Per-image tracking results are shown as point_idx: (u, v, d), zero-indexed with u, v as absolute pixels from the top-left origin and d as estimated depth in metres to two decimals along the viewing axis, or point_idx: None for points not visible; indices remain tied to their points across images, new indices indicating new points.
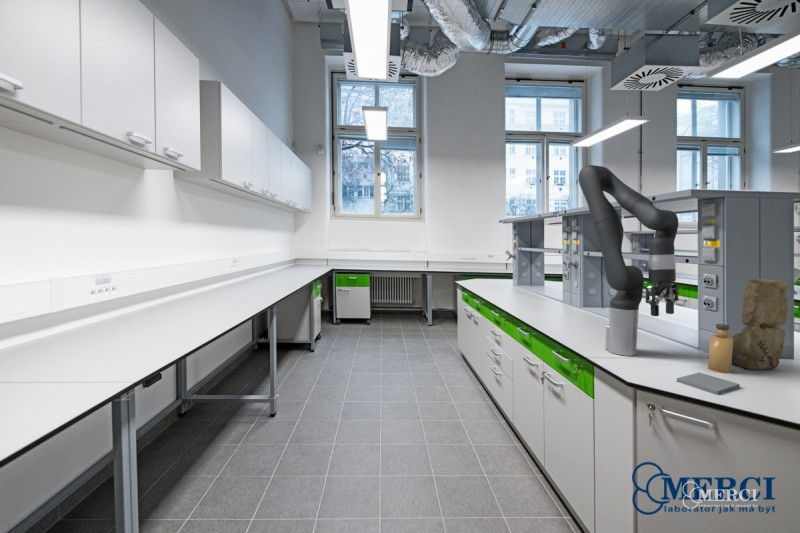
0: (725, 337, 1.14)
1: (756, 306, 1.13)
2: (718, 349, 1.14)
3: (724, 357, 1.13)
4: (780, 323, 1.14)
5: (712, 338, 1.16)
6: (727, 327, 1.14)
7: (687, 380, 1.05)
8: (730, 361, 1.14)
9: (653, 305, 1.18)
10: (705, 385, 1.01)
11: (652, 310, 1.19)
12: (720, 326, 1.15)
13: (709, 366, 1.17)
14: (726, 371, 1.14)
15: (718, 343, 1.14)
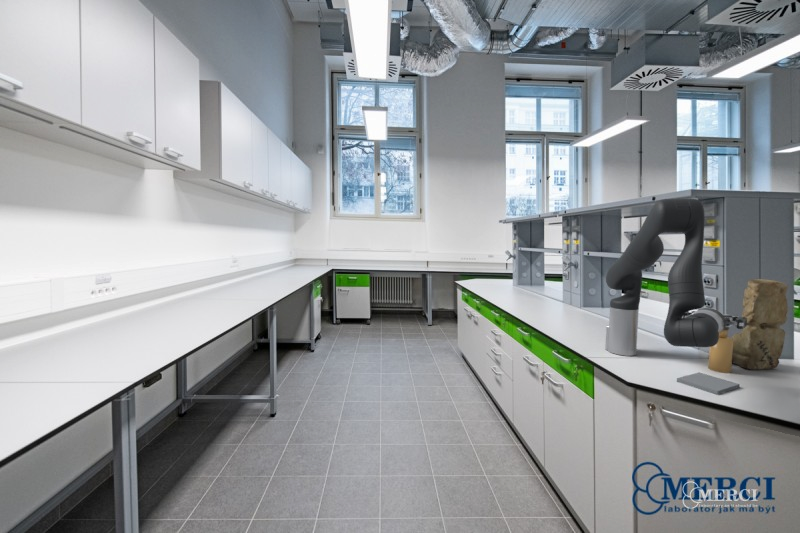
0: (725, 337, 1.14)
1: (756, 306, 1.13)
2: (718, 349, 1.14)
3: (724, 357, 1.13)
4: (780, 323, 1.14)
5: None
6: (727, 327, 1.14)
7: (687, 380, 1.05)
8: (730, 361, 1.14)
9: None
10: (705, 385, 1.01)
11: None
12: None
13: (709, 366, 1.17)
14: (726, 371, 1.14)
15: (718, 343, 1.14)
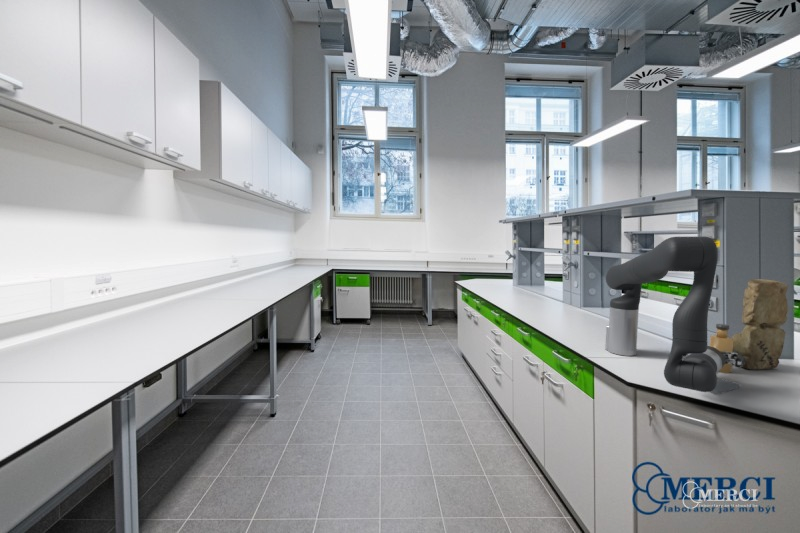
0: (725, 337, 1.14)
1: (756, 306, 1.13)
2: (718, 349, 1.14)
3: None
4: (780, 323, 1.14)
5: (712, 338, 1.16)
6: (727, 327, 1.14)
7: None
8: None
9: None
10: None
11: None
12: (720, 326, 1.15)
13: None
14: (726, 371, 1.14)
15: (718, 343, 1.14)
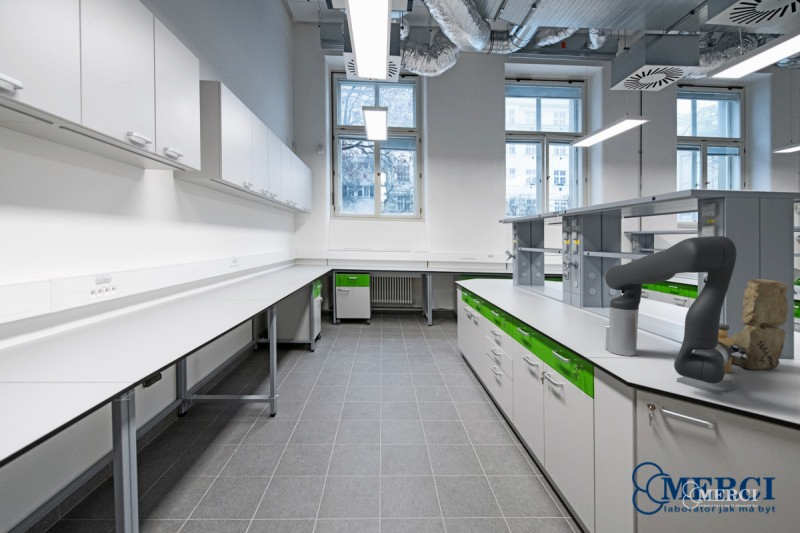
0: (725, 337, 1.14)
1: (756, 306, 1.13)
2: None
3: None
4: (780, 323, 1.14)
5: None
6: (727, 327, 1.14)
7: (687, 380, 1.05)
8: (730, 361, 1.14)
9: None
10: (705, 385, 1.01)
11: None
12: (720, 326, 1.15)
13: None
14: (726, 371, 1.14)
15: None
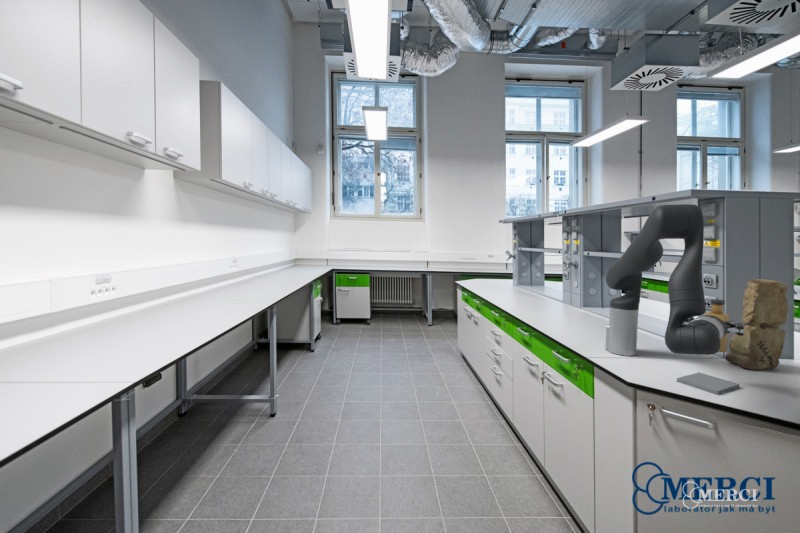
0: (720, 313, 1.05)
1: (756, 306, 1.13)
2: None
3: None
4: (780, 323, 1.14)
5: (706, 314, 1.06)
6: (722, 302, 1.04)
7: (687, 380, 1.05)
8: (726, 339, 1.04)
9: None
10: (705, 385, 1.01)
11: None
12: (715, 301, 1.05)
13: None
14: (722, 350, 1.04)
15: None
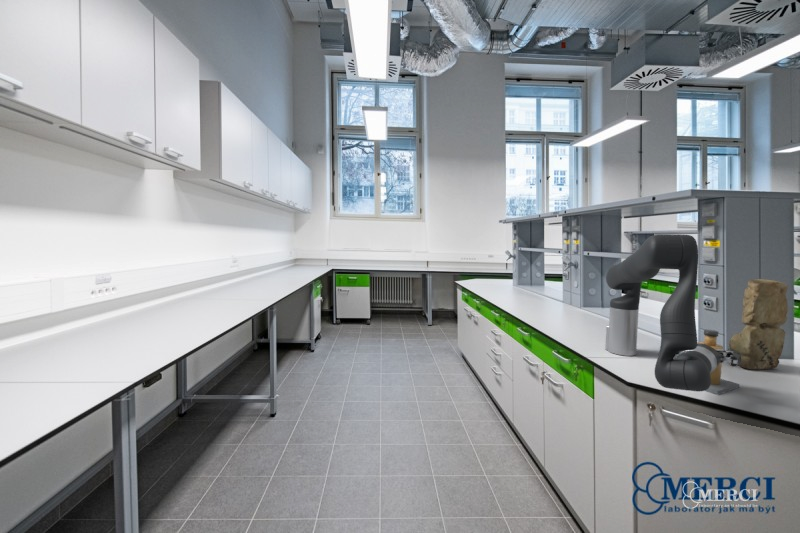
0: (714, 345, 1.02)
1: (756, 306, 1.13)
2: None
3: None
4: (780, 323, 1.14)
5: None
6: (716, 334, 1.01)
7: None
8: (719, 372, 1.01)
9: None
10: None
11: None
12: (708, 333, 1.02)
13: None
14: (715, 383, 1.02)
15: None
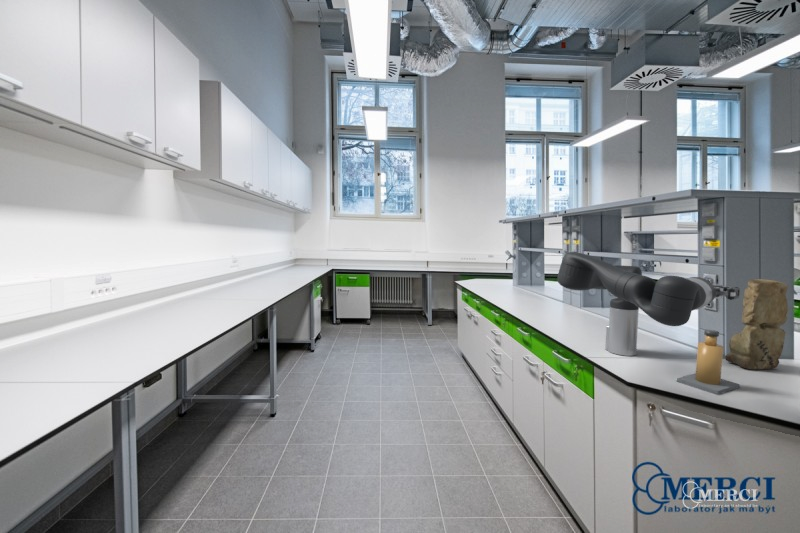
0: (714, 345, 1.02)
1: (756, 306, 1.13)
2: (706, 358, 1.02)
3: (712, 367, 1.01)
4: (780, 323, 1.14)
5: (700, 346, 1.04)
6: (716, 334, 1.02)
7: (687, 380, 1.05)
8: (719, 372, 1.01)
9: None
10: (705, 385, 1.01)
11: None
12: (709, 332, 1.02)
13: (696, 377, 1.05)
14: (715, 383, 1.02)
15: (706, 351, 1.02)
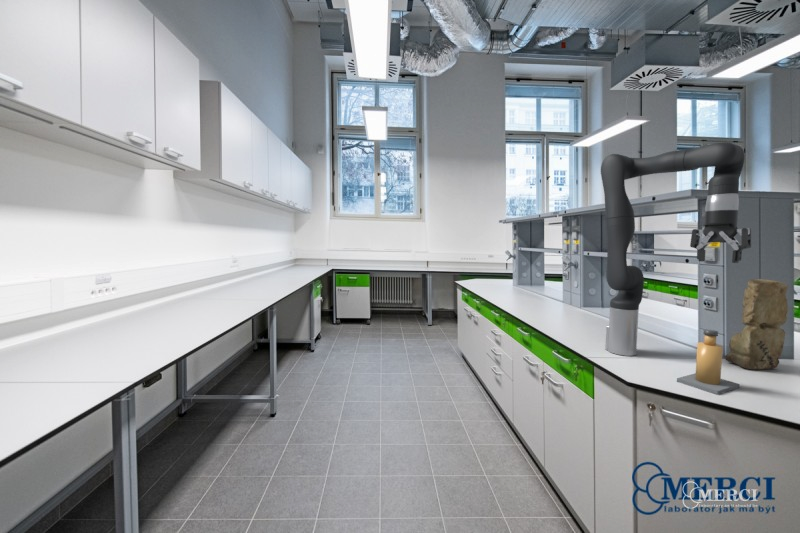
0: (713, 344, 1.02)
1: (756, 306, 1.13)
2: (705, 358, 1.02)
3: (712, 366, 1.01)
4: (780, 323, 1.14)
5: (699, 345, 1.04)
6: (715, 333, 1.02)
7: (687, 380, 1.05)
8: (719, 371, 1.02)
9: None
10: (705, 385, 1.01)
11: None
12: (708, 332, 1.03)
13: (696, 377, 1.05)
14: (714, 383, 1.02)
15: (705, 351, 1.02)
